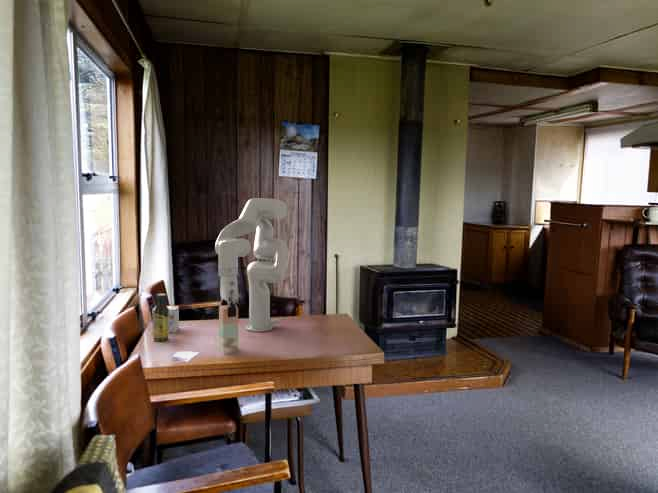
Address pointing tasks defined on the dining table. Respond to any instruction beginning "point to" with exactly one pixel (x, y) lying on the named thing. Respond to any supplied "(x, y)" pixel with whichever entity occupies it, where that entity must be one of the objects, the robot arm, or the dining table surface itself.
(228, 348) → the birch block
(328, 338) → the dining table surface
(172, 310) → the light bulb box
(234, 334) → the sage block
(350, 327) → the dining table surface
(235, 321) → the light brown cube
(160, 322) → the sauce bottle
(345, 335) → the dining table surface
